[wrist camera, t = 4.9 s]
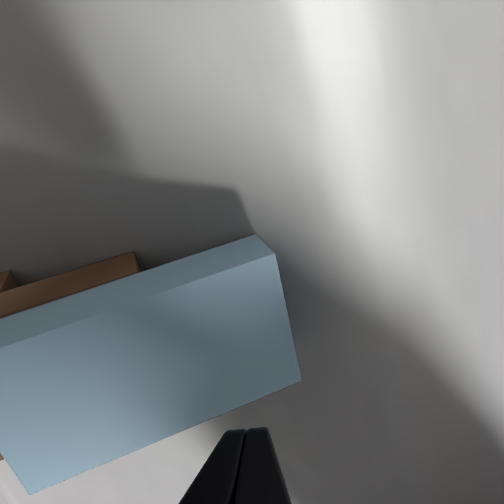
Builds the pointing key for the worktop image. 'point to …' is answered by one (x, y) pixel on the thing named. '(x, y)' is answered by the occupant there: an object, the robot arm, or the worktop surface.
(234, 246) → the domino
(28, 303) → the domino
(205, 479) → the robot arm
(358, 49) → the worktop surface
